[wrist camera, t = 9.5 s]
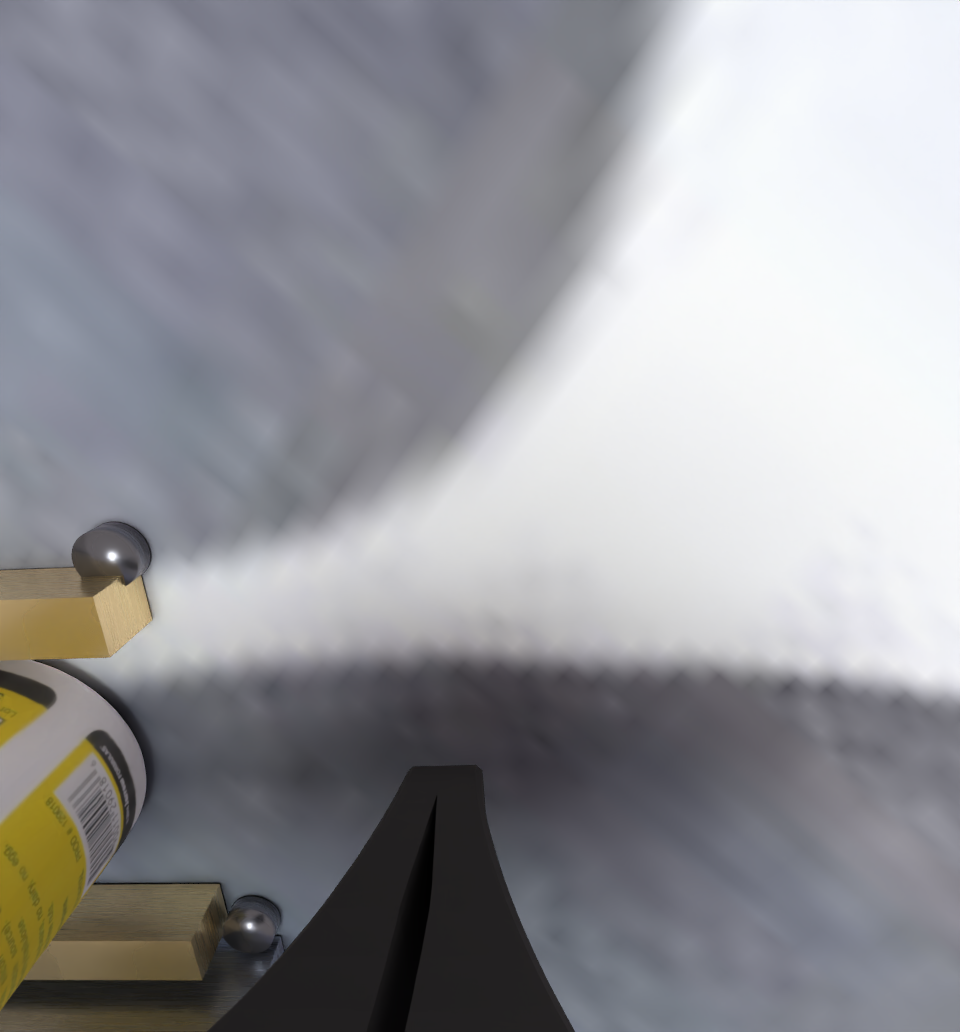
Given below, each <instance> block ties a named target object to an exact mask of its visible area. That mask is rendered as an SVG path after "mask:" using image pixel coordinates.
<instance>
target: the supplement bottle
mask: <svg viewBox="0 0 960 1032" xmlns="http://www.w3.org/2000/svg"><path fill="white" fill-rule="evenodd" d="M145 793H146V771H145V765H144V760H143V756H142V752H141V750H140V747H139V744H138V742H137V740H136V738H135V736H134V735H133V733H132V731H131V730H130V728H129V726H128V725H127V724H126V722H125V721H124V720H123V719H122V717H121V716H120V715H119V714H118V712H117V711H116V710H115V709H114V708H113V707H112V706H111V705H110V704H109V703H108V702H107V701H106V700H105V699H104V698H103V697H101V696H100V695H99V694H98V693H97V692H95V691H94V690H93V689H91V688H90V687H89V686H87V685H85V684H84V683H82V682H81V681H79V680H78V679H76V678H74V677H72V676H70V675H68V674H67V673H65V672H62V671H60V670H58V669H56V668H54V667H51V666H48V665H45V664H42V663H39V662H36V661H32V660H4V661H0V1011H1V1009H2V1008H3V1007H4V1005H5V1004H6V1003H7V1001H8V1000H9V998H10V997H11V996H12V994H13V993H14V992H15V990H16V989H17V988H18V986H19V985H20V983H21V982H22V981H23V979H24V978H25V977H26V975H27V974H28V972H29V971H30V970H31V968H32V967H33V965H34V964H35V962H36V961H37V960H38V958H39V957H40V956H41V954H42V953H43V952H44V951H45V949H46V948H47V947H48V945H49V944H50V942H51V941H52V939H53V938H54V937H55V935H56V934H57V933H58V931H59V930H60V929H61V927H62V926H63V924H64V923H65V922H66V920H67V919H68V918H69V916H70V915H71V914H72V912H73V911H74V909H75V908H76V907H77V905H78V904H79V903H80V901H81V900H82V899H83V897H84V896H85V895H86V893H87V892H88V891H89V889H90V888H91V886H92V885H93V884H94V882H95V881H96V879H97V878H98V877H99V875H100V874H101V873H102V871H103V870H104V868H105V867H106V866H107V864H108V863H109V861H110V860H111V858H112V857H113V855H114V854H115V853H116V852H117V850H118V849H119V847H120V846H121V844H122V843H123V842H124V840H125V839H126V837H127V835H128V834H129V832H130V831H131V829H132V827H133V826H134V824H135V822H136V821H137V819H138V816H139V814H140V812H141V810H142V806H143V803H144V799H145Z"/></svg>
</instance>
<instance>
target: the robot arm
mask: <svg viewBox="0 0 960 1032" xmlns="http://www.w3.org/2000/svg"><path fill="white" fill-rule="evenodd" d="M206 1032H575V1031H574V1029H573V1027H572V1025H571V1024H570V1022H569V1020H568V1018H567V1016H566V1014H565V1012H564V1011H563V1009H562V1007H561V1005H560V1003H559V1001H558V999H557V997H556V996H555V994H554V992H553V990H552V988H551V986H550V984H549V983H548V981H547V979H546V976H545V974H544V972H543V970H542V968H541V966H540V964H539V962H538V960H537V958H536V955H535V953H534V951H533V949H532V947H531V945H530V942H529V940H528V938H527V935H526V933H525V931H524V929H523V926H522V924H521V921H520V919H519V917H518V914H517V912H516V909H515V907H514V904H513V902H512V899H511V896H510V893H509V891H508V888H507V885H506V882H505V880H504V877H503V874H502V871H501V868H500V865H499V862H498V858H497V855H496V851H495V848H494V844H493V841H492V838H491V834H490V830H489V826H488V822H487V817H486V811H485V798H484V785H483V773H482V770H481V769H480V768H479V767H478V766H477V765H460V766H414V767H412V768H411V769H410V770H409V771H408V772H407V774H406V776H405V778H404V780H403V782H402V784H401V786H400V788H399V790H398V792H397V793H396V795H395V797H394V799H393V801H392V802H391V804H390V806H389V808H388V809H387V811H386V813H385V814H384V816H383V818H382V819H381V821H380V823H379V824H378V826H377V827H376V829H375V831H374V832H373V834H372V835H371V837H370V838H369V840H368V842H367V843H366V845H365V846H364V848H363V849H362V851H361V852H360V854H359V855H358V857H357V858H356V860H355V861H354V863H353V864H352V866H351V867H350V868H349V870H348V871H347V873H346V874H345V875H344V877H343V878H342V880H341V881H340V882H339V884H338V885H337V887H336V888H335V889H334V891H333V892H332V893H331V895H330V896H329V898H328V899H327V900H326V902H325V903H324V904H323V905H322V907H321V908H320V909H319V911H318V912H317V913H316V914H315V916H314V917H313V918H312V919H311V921H310V922H309V923H308V924H307V926H306V927H305V928H304V929H303V930H302V932H301V933H300V934H299V935H298V936H297V938H296V939H295V940H294V941H293V942H292V943H291V945H290V946H289V947H288V948H287V949H286V950H285V952H284V953H283V954H282V955H281V956H280V957H279V958H278V959H277V960H276V961H275V963H274V964H273V965H272V966H271V967H270V968H269V969H268V970H267V971H266V972H265V973H264V975H263V976H262V977H261V978H260V979H259V980H258V981H257V982H256V983H255V984H254V985H253V986H252V987H251V989H250V990H249V991H248V992H247V993H246V994H245V995H244V996H243V997H242V998H241V999H240V1000H239V1001H238V1002H237V1003H236V1004H235V1005H234V1006H233V1007H232V1008H231V1009H230V1010H229V1011H228V1012H227V1013H226V1014H224V1015H223V1016H222V1017H221V1018H220V1019H219V1020H218V1021H217V1022H216V1023H215V1024H214V1025H213V1026H212V1027H211V1028H210V1029H209V1030H208V1031H206Z"/></svg>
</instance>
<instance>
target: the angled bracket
mask: <svg viewBox="0 0 960 1032" xmlns="http://www.w3.org/2000/svg"><path fill="white" fill-rule="evenodd" d="M72 561H73V564H74V568H48V569H22V570H0V661H4V660H38V659H72V658H107V657H111V656H112V655H113V654H114V653H116V652H117V651H118V650H119V649H120V648H121V647H122V646H124V645H125V644H126V643H127V642H128V641H129V640H130V639H131V638H133V637H134V636H135V635H136V634H137V633H138V632H139V631H140V630H142V629H143V628H144V627H145V626H146V625H147V624H148V623H149V622H151V621H152V617H151V613H150V609H149V605H148V601H147V597H146V593H145V590H144V586H143V582H142V578H141V575H142V574H143V573H144V572H145V571H146V570H147V568H148V566H149V563H150V550H149V547H148V544H147V542H146V541H145V539H144V538H143V536H142V535H141V534H140V533H139V532H138V531H136V530H135V529H134V528H132V527H130V526H128V525H126V524H123V523H118V522H108V523H104V524H102V525H100V526H98V527H96V528H94V529H92V530H91V531H89V532H87V533H85V534H83V535H82V536H80V537H79V538H78V539H77V540H76V542H75V543H74V546H73V549H72ZM279 923H280V913H279V911H278V909H277V908H276V907H275V906H274V905H273V904H272V903H271V902H269V901H267V900H265V899H263V898H259V897H244V898H241V899H239V900H237V901H236V902H235V903H234V904H233V906H232V908H231V910H230V912H229V915H227V911H226V907H225V903H224V900H223V896H222V892H221V888H220V884H121V885H92V886H91V888H90V889H89V891H88V892H87V893H86V895H85V896H84V897H83V899H82V900H81V901H80V903H79V904H78V905H77V907H76V908H75V909H74V911H73V912H72V914H71V915H70V916H69V918H68V919H67V920H66V922H65V923H64V924H63V926H62V927H61V929H60V930H59V931H58V933H57V934H56V935H55V937H54V938H53V939H52V941H51V942H50V944H49V945H48V947H47V948H46V949H45V951H44V952H43V953H42V954H41V956H40V957H39V958H38V960H37V961H36V962H35V964H34V965H33V967H32V968H31V970H30V971H29V972H28V974H27V975H26V977H25V978H24V979H23V981H22V982H21V983H20V985H19V986H18V988H17V989H16V990H15V992H14V993H13V994H12V996H11V997H10V998H9V1000H8V1001H7V1003H6V1004H5V1005H4V1007H3V1008H2V1009H1V1011H0V1032H206V1031H208V1030H209V1029H210V1028H211V1027H212V1026H213V1025H214V1024H215V1023H216V1022H217V1021H218V1020H219V1019H220V1018H221V1017H222V1016H223V1015H224V1014H226V1013H227V1012H228V1011H229V1010H230V1009H231V1008H232V1007H233V1006H234V1005H235V1004H236V1003H237V1002H238V1001H239V1000H240V999H241V998H242V997H243V996H244V995H245V994H246V993H247V992H248V991H249V990H250V989H251V987H252V986H253V985H254V984H255V983H256V982H257V981H258V980H259V979H260V978H261V977H262V976H263V975H264V973H265V972H266V971H267V970H268V969H269V968H270V967H271V966H272V965H273V964H274V963H275V961H276V960H277V959H278V958H279V957H280V956H281V955H282V954H283V953H284V949H283V945H282V940H281V936H275V934H276V931H277V928H278V926H279Z"/></svg>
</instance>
